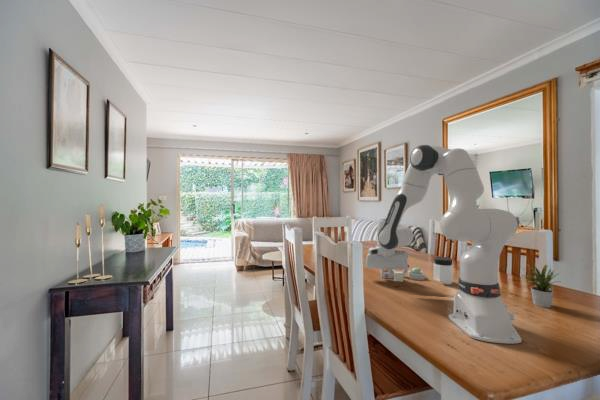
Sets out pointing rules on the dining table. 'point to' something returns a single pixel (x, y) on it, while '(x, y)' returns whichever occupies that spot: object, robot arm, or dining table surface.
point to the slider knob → (398, 276)
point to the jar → (443, 270)
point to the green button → (416, 270)
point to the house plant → (541, 287)
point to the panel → (410, 274)
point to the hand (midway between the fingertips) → (386, 277)
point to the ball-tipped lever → (404, 271)
